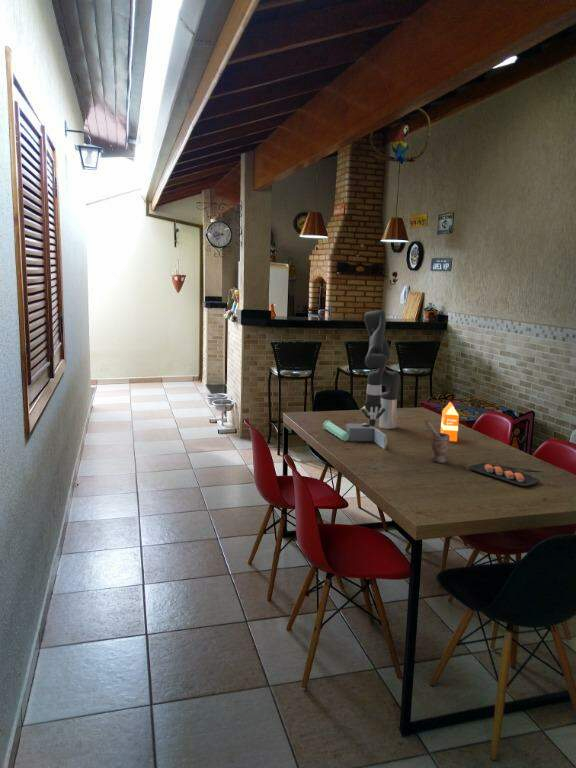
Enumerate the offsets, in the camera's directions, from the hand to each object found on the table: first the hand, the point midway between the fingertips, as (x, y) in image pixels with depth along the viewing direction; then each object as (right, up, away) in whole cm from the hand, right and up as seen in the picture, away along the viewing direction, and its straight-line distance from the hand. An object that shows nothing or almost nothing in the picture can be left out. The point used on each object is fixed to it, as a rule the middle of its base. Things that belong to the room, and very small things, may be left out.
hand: (372, 426), depth 292 cm
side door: (+5, -10, +6) cm, 13 cm away
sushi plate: (+60, -20, -30) cm, 70 cm away
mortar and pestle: (+28, -16, -16) cm, 36 cm away
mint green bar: (-16, -7, +23) cm, 29 cm away
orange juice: (+46, -9, +24) cm, 52 cm away
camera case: (-4, -8, +18) cm, 20 cm away
